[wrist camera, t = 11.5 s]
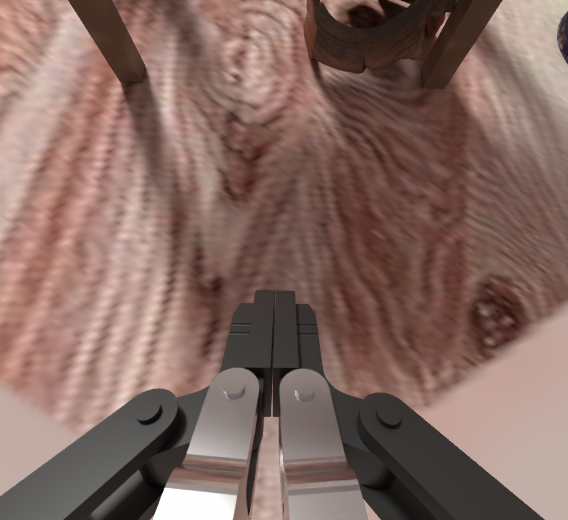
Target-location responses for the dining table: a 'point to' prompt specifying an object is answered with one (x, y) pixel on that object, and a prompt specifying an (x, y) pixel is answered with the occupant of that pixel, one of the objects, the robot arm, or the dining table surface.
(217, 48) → the dining table surface
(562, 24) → the dark blue cylinder
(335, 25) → the pottery mug
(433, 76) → the wooden side table
